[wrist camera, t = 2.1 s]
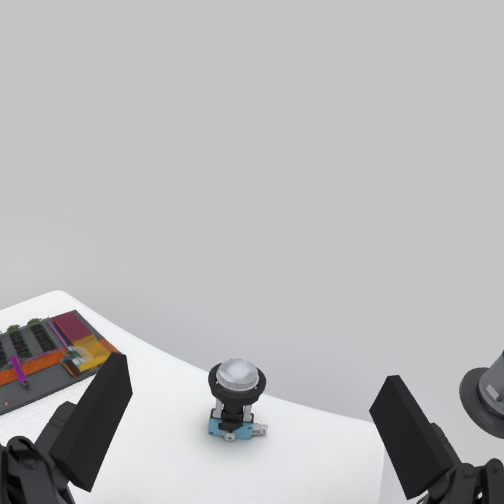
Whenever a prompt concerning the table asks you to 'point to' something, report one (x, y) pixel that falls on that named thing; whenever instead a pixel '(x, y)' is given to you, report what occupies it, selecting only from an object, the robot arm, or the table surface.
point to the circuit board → (48, 358)
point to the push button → (235, 399)
